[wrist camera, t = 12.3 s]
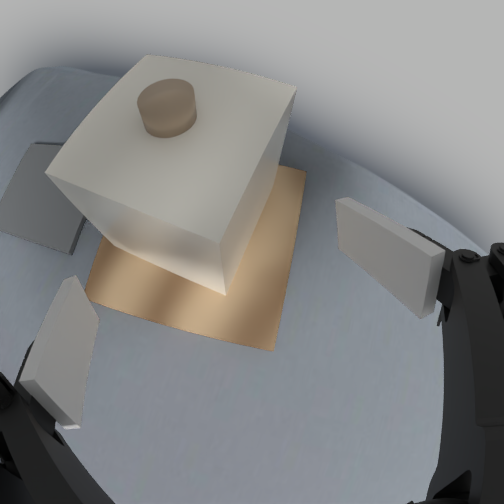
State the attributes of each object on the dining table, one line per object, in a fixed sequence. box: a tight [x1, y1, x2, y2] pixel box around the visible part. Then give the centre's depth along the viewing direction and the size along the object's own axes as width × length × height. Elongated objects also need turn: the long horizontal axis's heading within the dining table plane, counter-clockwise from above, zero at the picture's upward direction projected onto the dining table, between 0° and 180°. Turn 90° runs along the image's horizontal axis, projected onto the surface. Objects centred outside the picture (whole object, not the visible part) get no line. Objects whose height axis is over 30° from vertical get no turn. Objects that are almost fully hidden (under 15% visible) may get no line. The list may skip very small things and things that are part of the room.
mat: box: [0, 144, 86, 255], centre depth 22 cm, size 12×10×1 cm
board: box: [85, 165, 307, 351], centre depth 21 cm, size 14×14×1 cm
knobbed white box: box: [45, 55, 297, 295], centre depth 16 cm, size 9×9×11 cm
